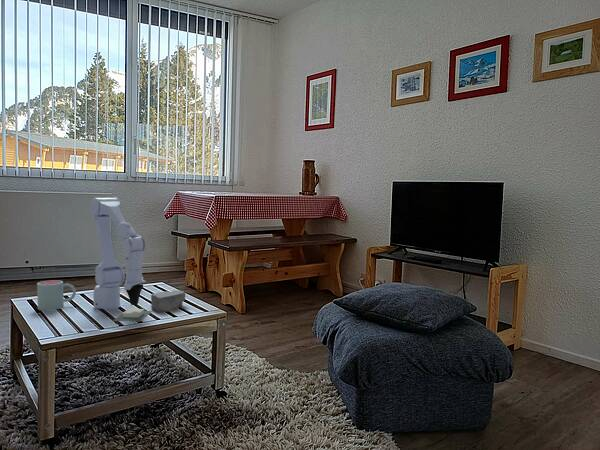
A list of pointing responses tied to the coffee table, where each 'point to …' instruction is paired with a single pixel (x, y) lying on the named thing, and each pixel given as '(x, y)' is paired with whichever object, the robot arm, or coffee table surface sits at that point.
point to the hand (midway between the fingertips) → (134, 304)
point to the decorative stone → (167, 300)
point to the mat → (133, 318)
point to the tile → (133, 313)
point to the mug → (52, 294)
